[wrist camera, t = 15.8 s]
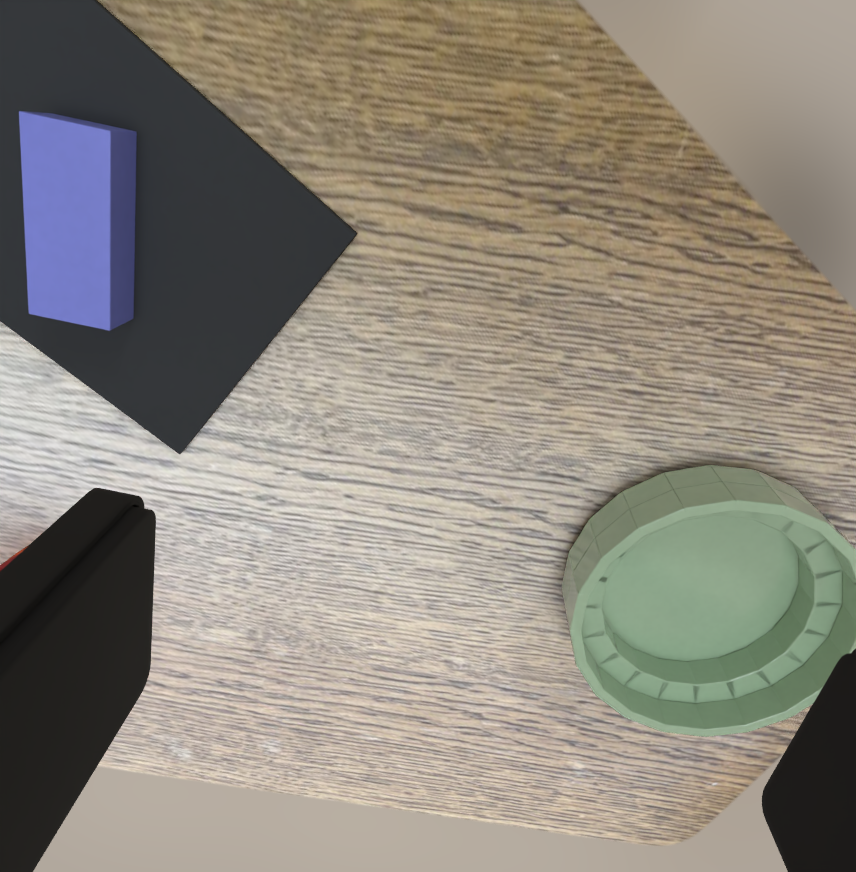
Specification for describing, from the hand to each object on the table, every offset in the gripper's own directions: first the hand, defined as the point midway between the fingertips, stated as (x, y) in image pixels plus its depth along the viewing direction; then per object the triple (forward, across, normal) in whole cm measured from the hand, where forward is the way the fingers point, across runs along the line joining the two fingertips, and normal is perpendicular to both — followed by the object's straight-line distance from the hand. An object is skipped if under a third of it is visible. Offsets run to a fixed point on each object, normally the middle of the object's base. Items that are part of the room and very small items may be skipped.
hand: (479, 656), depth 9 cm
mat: (+26, +19, +1) cm, 32 cm away
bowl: (+26, -16, +14) cm, 34 cm away
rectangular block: (+26, +19, +1) cm, 32 cm away
